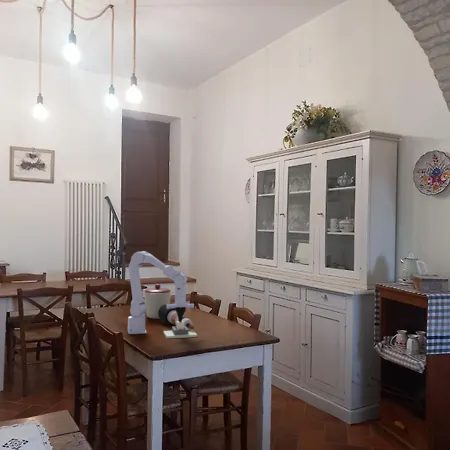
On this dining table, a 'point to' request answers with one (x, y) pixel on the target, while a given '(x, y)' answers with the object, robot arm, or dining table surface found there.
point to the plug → (179, 325)
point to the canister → (156, 300)
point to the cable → (173, 317)
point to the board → (180, 333)
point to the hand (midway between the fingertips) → (180, 321)
